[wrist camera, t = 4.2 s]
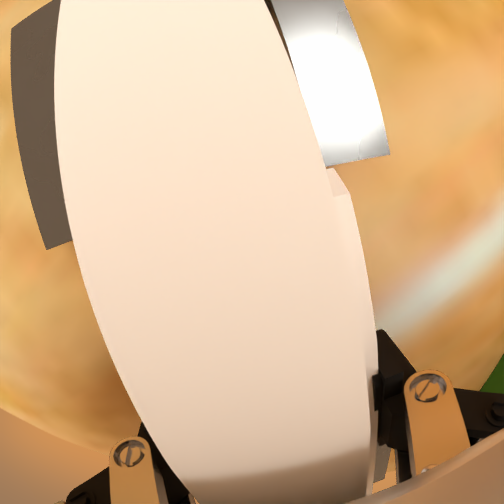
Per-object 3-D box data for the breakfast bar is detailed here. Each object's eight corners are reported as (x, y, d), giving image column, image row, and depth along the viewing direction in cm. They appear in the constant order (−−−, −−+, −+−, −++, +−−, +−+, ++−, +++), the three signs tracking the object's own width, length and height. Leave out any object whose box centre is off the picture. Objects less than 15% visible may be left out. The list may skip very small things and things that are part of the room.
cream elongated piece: (267, 468, 18) (277, 608, 5) (161, 117, 15) (32, -22, 3) (338, 451, 18) (385, 584, 5) (254, 91, 15) (261, -99, 2)
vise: (286, -11, 10) (308, -66, 5) (364, 434, 20) (384, 478, 15) (64, 56, 10) (11, 28, 6) (225, 468, 20) (226, 516, 15)
